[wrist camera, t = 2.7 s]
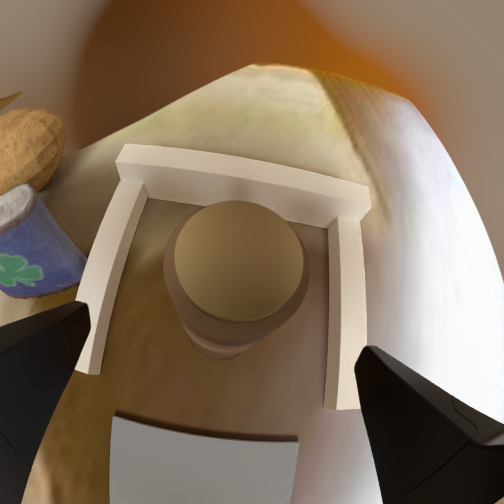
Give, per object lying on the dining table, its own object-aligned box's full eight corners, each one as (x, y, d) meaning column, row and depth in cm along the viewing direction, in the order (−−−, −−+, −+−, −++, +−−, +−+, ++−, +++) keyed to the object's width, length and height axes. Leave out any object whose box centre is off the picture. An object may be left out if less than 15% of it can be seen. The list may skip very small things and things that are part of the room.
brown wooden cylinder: (203, 369, 16) (196, 361, 6) (177, 308, 17) (142, 215, 7) (265, 342, 17) (342, 292, 7) (236, 284, 19) (272, 176, 9)
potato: (12, 148, 21) (-10, 101, 14) (95, 147, 22) (76, 82, 15) (-27, 214, 17) (-62, 170, 10) (51, 229, 18) (7, 167, 11)
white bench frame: (348, 406, 16) (380, 409, 12) (75, 366, 14) (45, 360, 10) (347, 214, 23) (368, 186, 19) (133, 177, 21) (125, 143, 18)
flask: (91, 252, 18) (23, 152, 8) (91, 289, 17) (7, 202, 7) (6, 270, 16) (-70, 201, 6) (4, 303, 14) (-83, 244, 5)
